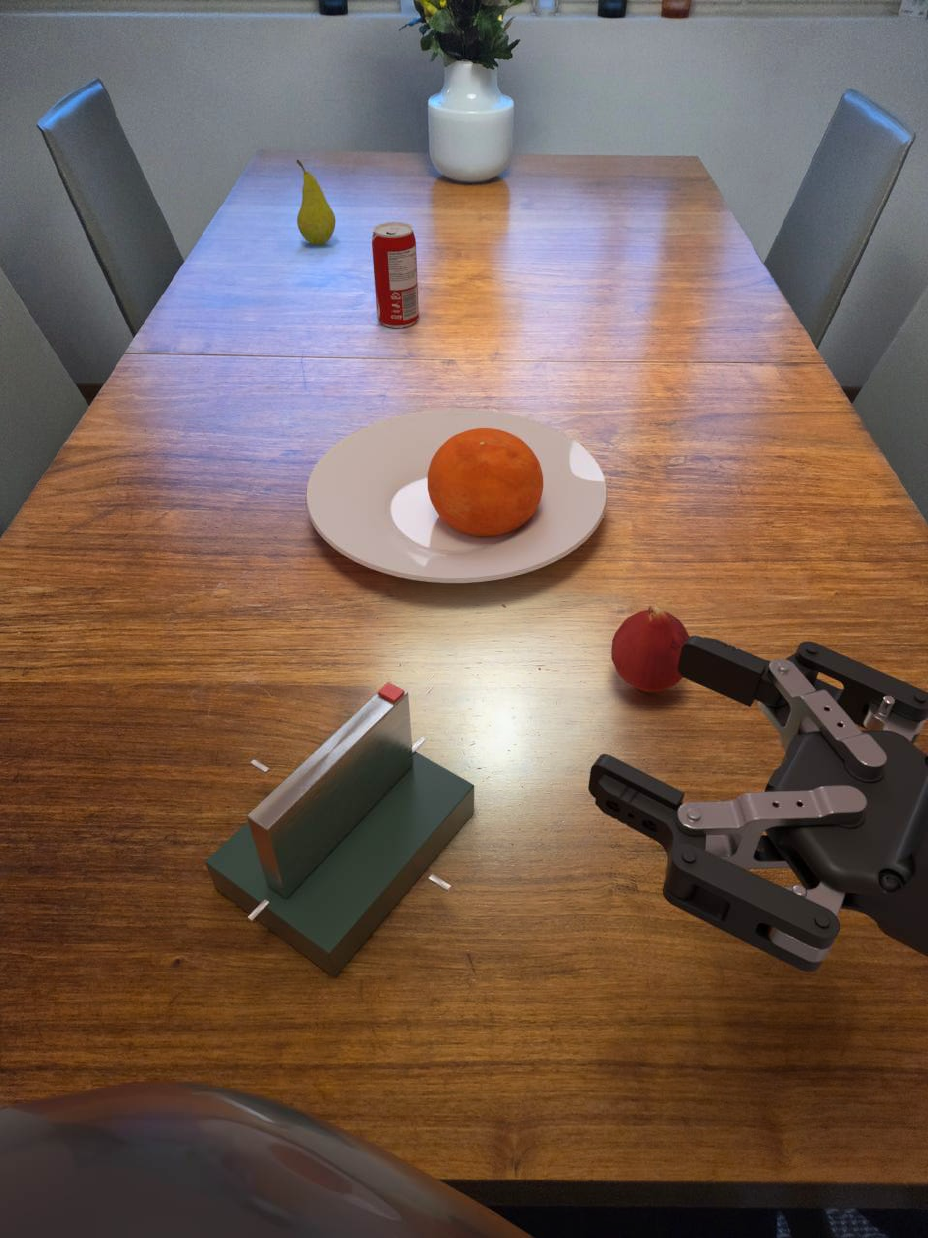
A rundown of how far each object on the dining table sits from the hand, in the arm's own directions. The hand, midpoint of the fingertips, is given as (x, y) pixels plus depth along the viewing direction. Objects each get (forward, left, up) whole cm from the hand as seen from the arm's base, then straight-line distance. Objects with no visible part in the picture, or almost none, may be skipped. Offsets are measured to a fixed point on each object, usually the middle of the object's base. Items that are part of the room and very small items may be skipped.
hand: (640, 709), depth 38 cm
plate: (+30, +32, -20) cm, 48 cm away
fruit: (+76, +92, -20) cm, 121 cm away
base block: (-4, +16, -20) cm, 26 cm away
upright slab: (-4, +16, -17) cm, 24 cm away
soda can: (+61, +64, -20) cm, 91 cm away
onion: (+20, +7, -20) cm, 29 cm away
